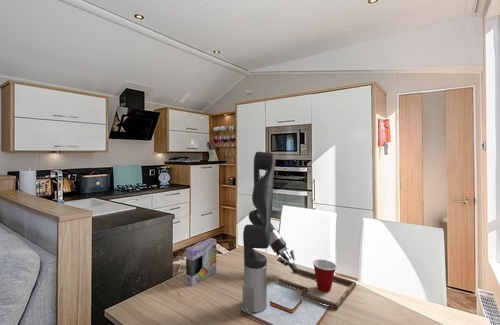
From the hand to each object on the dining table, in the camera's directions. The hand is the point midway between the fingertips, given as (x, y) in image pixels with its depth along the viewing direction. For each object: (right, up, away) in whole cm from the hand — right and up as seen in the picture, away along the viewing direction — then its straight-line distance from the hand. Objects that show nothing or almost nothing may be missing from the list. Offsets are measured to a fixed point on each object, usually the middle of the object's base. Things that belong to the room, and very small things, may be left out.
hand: (296, 270), depth 127 cm
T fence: (+8, -5, -6) cm, 11 cm away
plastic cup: (+11, -5, -9) cm, 15 cm away
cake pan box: (-47, -5, +2) cm, 47 cm away
